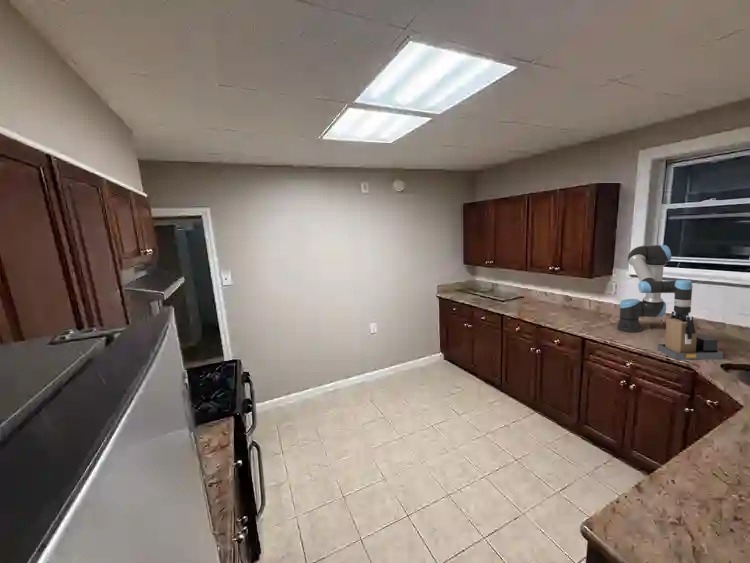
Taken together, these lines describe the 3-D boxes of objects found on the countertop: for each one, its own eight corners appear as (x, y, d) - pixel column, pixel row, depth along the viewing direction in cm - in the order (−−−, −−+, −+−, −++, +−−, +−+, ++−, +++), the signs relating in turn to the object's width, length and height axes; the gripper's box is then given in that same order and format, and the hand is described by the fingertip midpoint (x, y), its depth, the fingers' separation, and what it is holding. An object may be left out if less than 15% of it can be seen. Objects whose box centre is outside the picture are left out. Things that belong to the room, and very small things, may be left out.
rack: (657, 350, 210) (658, 333, 209) (700, 349, 206) (701, 332, 205) (676, 360, 194) (677, 342, 193) (723, 359, 190) (724, 341, 189)
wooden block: (680, 347, 206) (681, 317, 203) (696, 353, 196) (698, 321, 193) (664, 349, 206) (666, 318, 203) (679, 355, 196) (681, 323, 193)
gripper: (662, 301, 209) (660, 334, 212) (690, 310, 186) (688, 347, 189) (675, 301, 208) (673, 334, 211) (705, 310, 185) (703, 347, 188)
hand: (680, 340), depth 200 cm, fingers closed on wooden block, 11 cm apart
